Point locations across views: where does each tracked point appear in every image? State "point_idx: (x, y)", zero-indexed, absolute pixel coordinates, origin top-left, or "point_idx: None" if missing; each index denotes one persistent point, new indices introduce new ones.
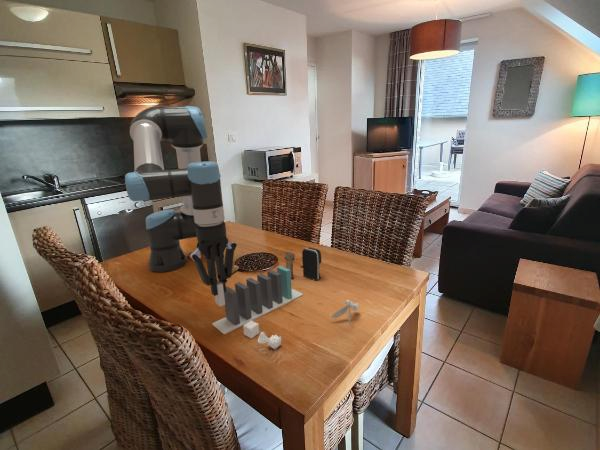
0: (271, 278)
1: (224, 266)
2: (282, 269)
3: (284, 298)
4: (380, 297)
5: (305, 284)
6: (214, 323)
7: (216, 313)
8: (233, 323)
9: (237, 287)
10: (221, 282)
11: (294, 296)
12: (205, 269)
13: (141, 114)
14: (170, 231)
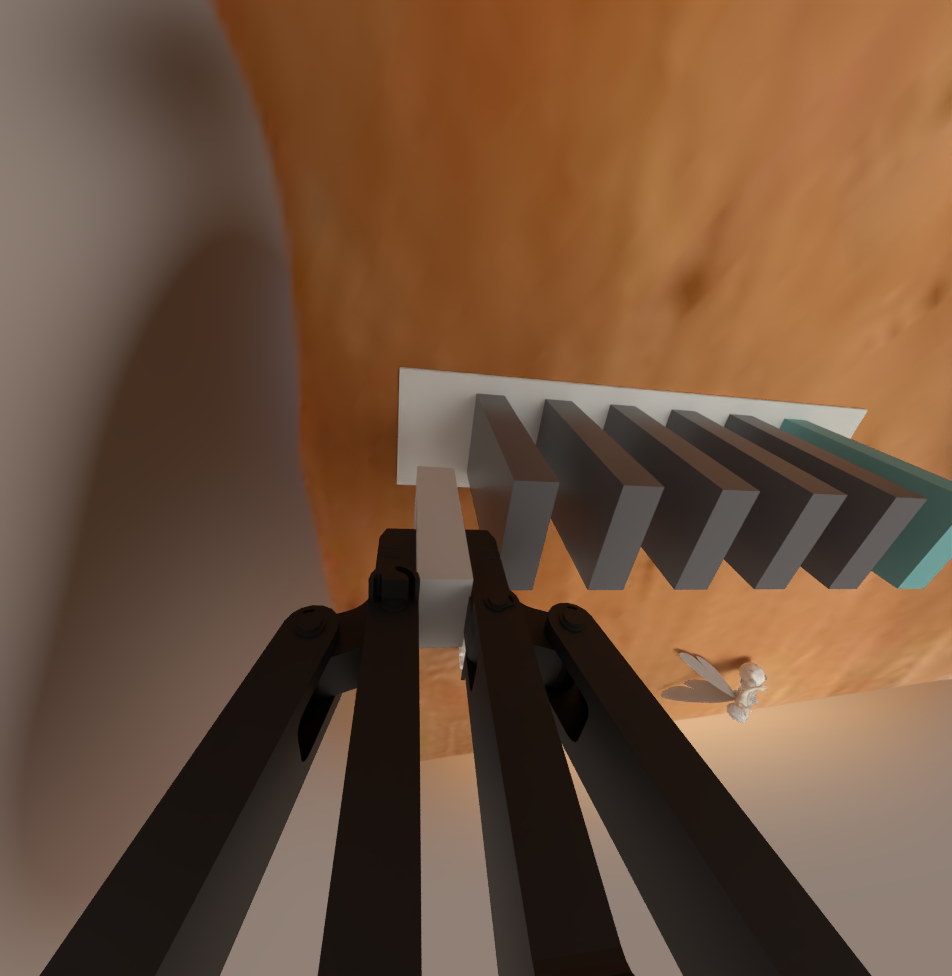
0: None
1: (601, 716)
2: (929, 552)
3: None
4: (837, 662)
5: (914, 440)
6: (409, 379)
7: (480, 282)
8: (468, 461)
9: (603, 507)
10: (465, 631)
11: None
12: (238, 931)
13: None
14: None
